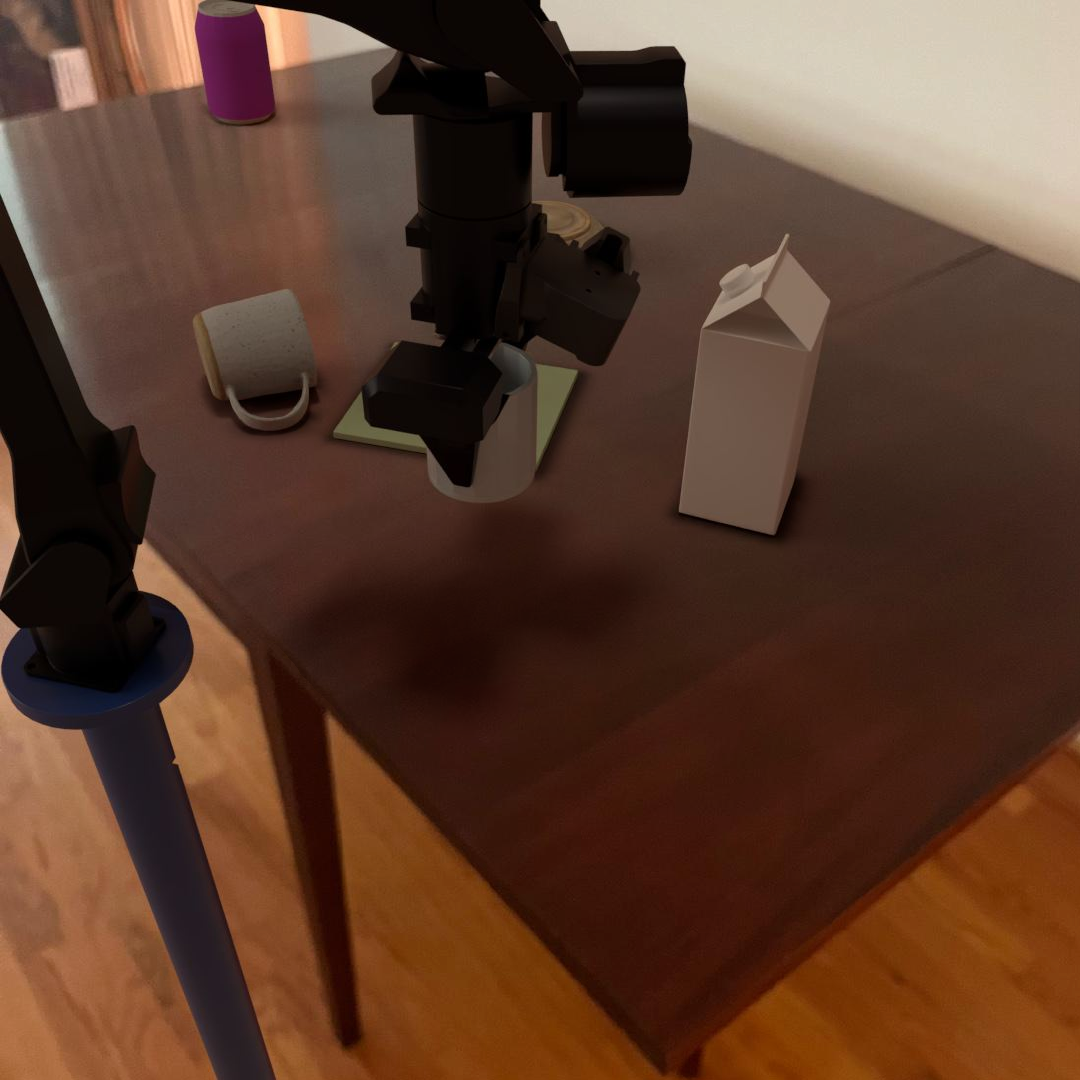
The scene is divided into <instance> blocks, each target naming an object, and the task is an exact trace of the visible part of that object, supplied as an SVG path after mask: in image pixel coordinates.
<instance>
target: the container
mask: <svg viewBox="0 0 1080 1080" xmlns="http://www.w3.org/2000/svg"><path fill="white" fill-rule="evenodd" d="M490 360H491V361H492V362H493V363H494V364H495V365H496V366H497V367H498V368H499V370H500V371H501V372H502V373H503V394H509V395H510V397H509V399H508V401H507V402H506V404H505V406H504V408H503V410H502V411H501V413H500V415H499V417H498V419H497V420H496V422H495V423H494V424H493V425H491V427H490V429H489V431H488V432H487V434H486V436H485V438H484V440H482V441H480V445H479V451H478V457H477V464H476V469H475V474H474V479H473V483H472V485H471V487H468V488H467V487H461V486H456V485H454V484H452V482H451V481H450V479H449V478H448V477H447V475H446V474H445V472H444V471H443V469H442V468H441V466H440V465H439V463H438V462H437V460H436V459H435V458H434V456H433V455H432V453H431V452H430V450H429V449H428V447H427V446H426V451H427V454H426V464H427V475H428V478H429V481H430V483H431V484H432V486H433V487H434V488H435V489H436V490H438V492H440V493H441V494H442V495H445V496H446V497H449V498H450V499H453V500H457V501H460V502H465V503H471V504H491V503H498V502H502V501H506V500H509V499H511V498H514V497H516V496H518V495H520V494H521V493H524V491H526V490H527V488H529V487H530V486H531V484H532V482H533V481H534V479H535V475H536V472H535V468H536V447H537V389H538V372H537V367H536V364H537V363H536V361H535V359H533V358H532V357H531V355H529V353H527V352H526V351H523V350H521V349H519V348H517V347H514V346H512V345H510V344H507V343H502V342H500V344H499V346H498V347H497V349H496V351H495V352H494V354H493V356H492V357H491V359H490Z"/></svg>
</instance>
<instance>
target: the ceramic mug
mask: <svg viewBox="0 0 1080 1080" xmlns="http://www.w3.org/2000/svg"><path fill="white" fill-rule="evenodd" d="M192 327H193V333H194V337H195V341H196V344H197V349H198V352H199V356H200V359H201V362H202V366H203V368H204V372H205V375H206V379H207V381H208V385H209V387H210V390H211V393H212V395H213V396H214V397H215V398H216V399H218V400H220V401H230V405H231V408H232V410H233V411H234V413H235V415H236V416H237V417H238V418H239V420H240V421H242V423H244V424H245V425H246V426H249V428H252V429H255V430H259V431H263V432H265V431H266V432H275V431H281V430H286V429H288V428H290V427H292V426H295V425H296V424H298V422H299V421H300V420H301V419H302V418H303V417H304V415H305V414H306V412H307V410H308V406H309V399H310V388H313V387H316V386H317V384H318V371H317V370H318V368H317V364H316V363H317V362H316V357H315V352H314V347H313V344H312V343H313V342H312V340H311V336H310V333H309V328H308V325H307V322H306V319H305V316H304V313H303V310H302V307H301V304H300V302H299V300H298V297H297V295H296V293H295V292H294V290H292V289H291V288H284V289H280V290H275V291H273V292H268V293H265V294H261V295H256V296H252V297H248V298H245V299H241V300H236V301H232V302H228V303H223V304H218V305H215V306H212V307H209V308H207V309H205V310H203V311H200V312H198V313H196V314H195V315H194V317H193V320H192ZM299 390H302V391H301V397H300V399H299V400H298V402H297V403H296V405H295V406H294V407H293V408H292V410H291V411H289V412H288V413H287V414H285V415H283V416H277V417H263V416H258V415H256V414H251V413H250V412H248V411H247V410H246V409H245V408H244V407H243V406H241V404H240V402H239V401H241V400H247V399H252V398H257V397H261V396H268V395H276V394H282V393H287V392H289V393H290V392H294V391H299Z"/></svg>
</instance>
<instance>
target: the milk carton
mask: <svg viewBox="0 0 1080 1080" xmlns="http://www.w3.org/2000/svg"><path fill="white" fill-rule="evenodd" d="M790 236H791V235H790V233H785V235H784V237H783V239H782V241H781V243H780V245H779V248H778V250H777V251H776V253H774V254H773V255H771V256H769V257H767V258H765V259H764V260H762V261H760V262H758V263H757V264H755V265H753V266H751V267H750V265H749V264H748V263H742V264H741V265H738V266H736V267H734V268H732V269H731V270H730V271H728V272H727V273H726V274H725V275H723V276H722V278H721V279H720V280H719V283H718V285H719V286H720V288H721V292H720V294H719V295H718V297H717V299H716V301H715V303H714V305H713V307H712V308H711V310H710V311H709V314H708V315H707V317H706V319H705V321H704V323H703V325H702V327H701V329H700V334H699V342H698V348H697V349H698V350H697V359H696V365H695V366H696V367H695V374H694V375H695V376H694V381H693V383H694V384H693V390H692V391H693V392H692V400H691V408H690V414H689V424H688V433H687V441H686V449H685V456H684V457H685V458H684V466H683V474H682V482H681V490H680V496H679V497H680V498H679V507H678V512H679V513H681V514H684V515H688V516H692V517H697V518H701V519H704V520H709V521H712V522H713V521H714V522H717V523H721V524H726V525H729V526H733V527H738V528H742V529H746V530H749V531H754V532H758V533H762V534H767V535H771V536H775V535H776V533H777V531H778V527H779V525H780V522H781V519H782V517H783V514H784V510H785V508H786V505H787V502H788V501H789V497H790V495H791V492H792V488H793V486H794V482H795V479H796V473H797V468H798V464H799V458H800V453H801V448H802V445H803V444H802V443H803V439H804V434H805V428H806V424H807V418H808V414H809V409H810V403H811V400H812V394H813V390H814V384H815V379H816V374H817V370H818V365H819V360H820V355H821V349H822V346H823V341H824V340H823V339H824V335H825V330H826V326H827V320H828V316H829V311H830V305H831V299H830V298H829V297H828V296H827V295H826V294H825V292H824V291H823V290H822V289H821V288H820V286H819V285H818V284H817V283H816V282H815V281H814V280H813V278H812V277H811V276H810V275H809V274H808V272H807V271H806V270H805V269H804V268H803V267H802V265H801V264H800V263H799V262H798V260H796V258H795V257H794V256H793V255H792V254H791V252H790V251H789V249H788V245H789V240H790Z"/></svg>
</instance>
